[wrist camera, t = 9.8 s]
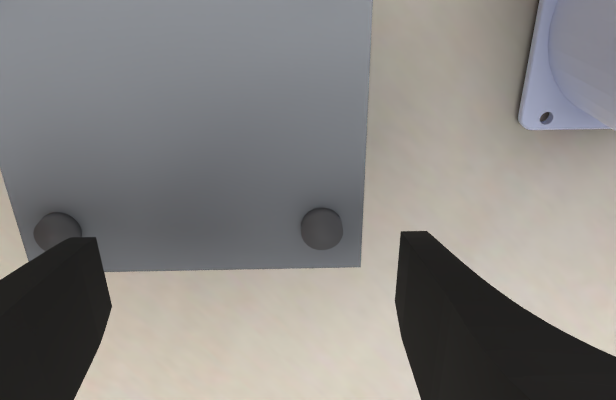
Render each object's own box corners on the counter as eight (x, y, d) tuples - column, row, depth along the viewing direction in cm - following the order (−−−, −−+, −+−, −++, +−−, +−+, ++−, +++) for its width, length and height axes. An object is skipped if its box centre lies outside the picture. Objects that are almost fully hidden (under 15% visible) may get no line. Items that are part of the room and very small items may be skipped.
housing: (342, 172, 22) (361, 274, 16) (106, 176, 22) (26, 281, 15) (348, -98, 18) (380, -113, 11) (50, -95, 17) (-97, -110, 11)
